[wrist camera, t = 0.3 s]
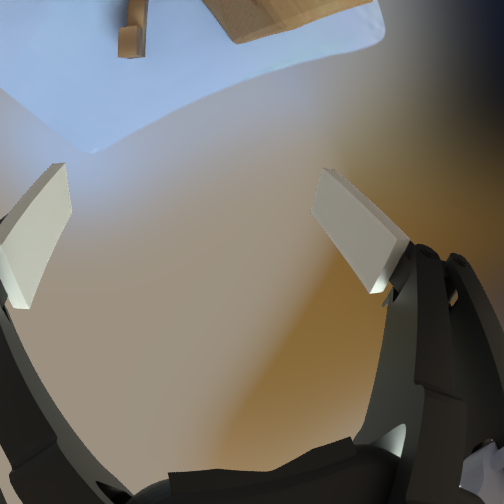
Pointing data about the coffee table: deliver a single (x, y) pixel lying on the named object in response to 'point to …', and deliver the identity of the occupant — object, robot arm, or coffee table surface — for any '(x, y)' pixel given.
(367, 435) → the robot arm
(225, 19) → the wooden block
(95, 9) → the coffee table surface
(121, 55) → the brown wooden bracket
